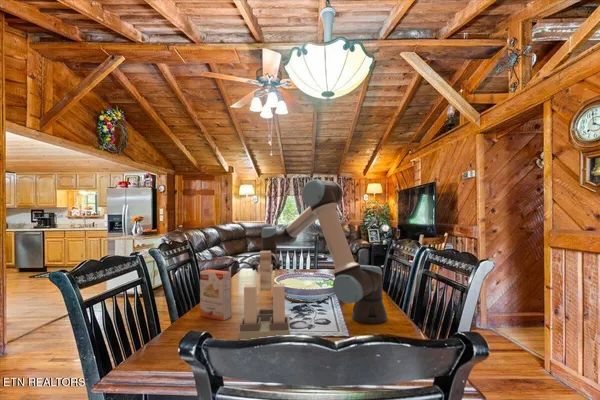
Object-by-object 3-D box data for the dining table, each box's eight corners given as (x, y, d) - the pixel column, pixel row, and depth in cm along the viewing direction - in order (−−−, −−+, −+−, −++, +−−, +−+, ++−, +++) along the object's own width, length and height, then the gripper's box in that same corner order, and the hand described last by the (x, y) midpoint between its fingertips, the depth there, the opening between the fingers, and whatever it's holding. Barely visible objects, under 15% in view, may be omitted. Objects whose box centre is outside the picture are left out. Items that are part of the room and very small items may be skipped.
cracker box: (199, 317, 144) (199, 271, 145) (208, 313, 150) (208, 268, 150) (223, 321, 138) (222, 273, 138) (232, 317, 143) (231, 271, 144)
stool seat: (245, 322, 136) (244, 278, 137) (289, 321, 137) (288, 277, 138) (238, 340, 117) (238, 289, 118) (289, 338, 118) (289, 287, 119)
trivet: (326, 290, 189) (326, 287, 189) (332, 303, 164) (332, 299, 164) (284, 291, 188) (284, 288, 188) (284, 304, 163) (284, 300, 163)
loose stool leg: (261, 288, 135) (260, 250, 136) (271, 288, 136) (271, 250, 136) (260, 290, 131) (259, 252, 131) (270, 290, 131) (270, 252, 132)
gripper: (286, 268, 152) (286, 279, 128) (249, 269, 151) (243, 280, 128) (286, 252, 152) (286, 260, 129) (249, 253, 151) (243, 261, 128)
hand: (264, 270), depth 128 cm, fingers closed on loose stool leg, 4 cm apart
